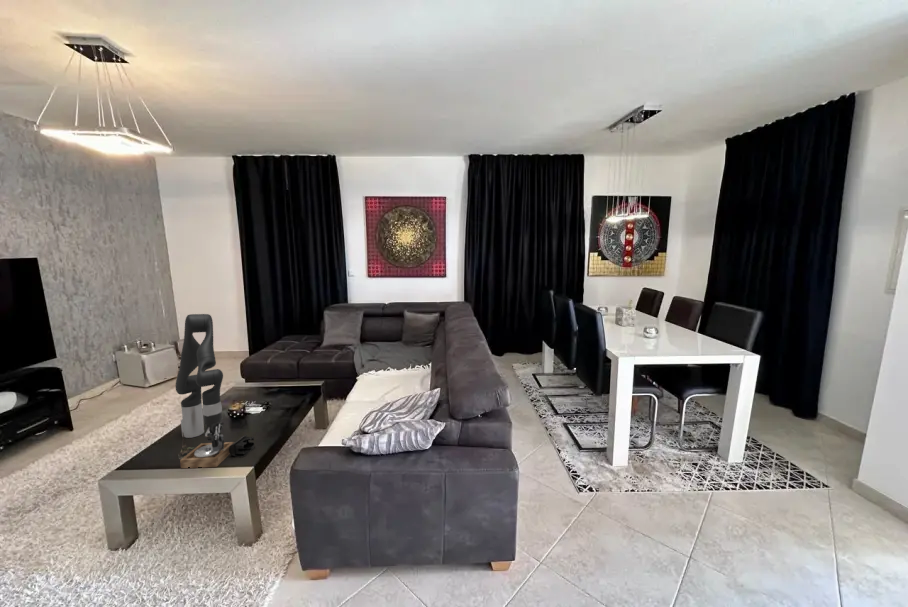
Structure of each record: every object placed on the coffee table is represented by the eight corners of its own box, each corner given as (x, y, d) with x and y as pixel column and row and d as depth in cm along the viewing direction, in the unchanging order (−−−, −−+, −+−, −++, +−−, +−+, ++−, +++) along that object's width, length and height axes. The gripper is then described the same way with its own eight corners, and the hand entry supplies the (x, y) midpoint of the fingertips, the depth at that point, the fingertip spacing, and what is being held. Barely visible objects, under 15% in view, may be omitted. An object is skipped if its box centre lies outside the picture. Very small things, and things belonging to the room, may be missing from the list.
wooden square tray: (180, 468, 171) (180, 459, 170) (201, 450, 187) (201, 442, 186) (216, 466, 172) (216, 458, 171) (234, 449, 188) (234, 441, 187)
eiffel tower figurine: (183, 465, 175) (180, 438, 173) (163, 464, 176) (160, 437, 174) (206, 449, 190) (204, 424, 188) (188, 448, 190) (185, 423, 189)
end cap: (241, 447, 190) (240, 434, 190) (255, 447, 190) (254, 434, 189) (229, 457, 180) (228, 444, 180) (243, 457, 180) (242, 444, 179)
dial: (189, 460, 173) (187, 441, 172) (203, 448, 184) (202, 431, 183) (217, 458, 174) (215, 440, 173) (229, 447, 185) (228, 430, 184)
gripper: (212, 406, 179) (215, 440, 181) (195, 417, 166) (198, 454, 168) (228, 406, 180) (231, 439, 182) (212, 417, 167) (215, 453, 169)
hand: (215, 446), depth 175 cm, fingers closed
